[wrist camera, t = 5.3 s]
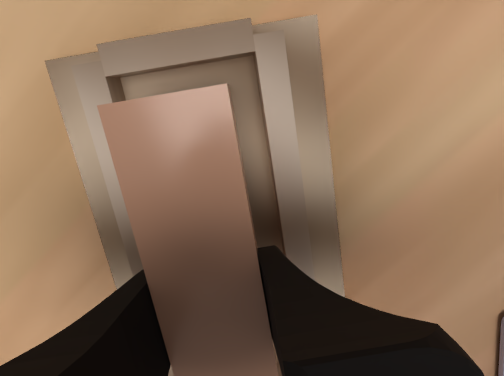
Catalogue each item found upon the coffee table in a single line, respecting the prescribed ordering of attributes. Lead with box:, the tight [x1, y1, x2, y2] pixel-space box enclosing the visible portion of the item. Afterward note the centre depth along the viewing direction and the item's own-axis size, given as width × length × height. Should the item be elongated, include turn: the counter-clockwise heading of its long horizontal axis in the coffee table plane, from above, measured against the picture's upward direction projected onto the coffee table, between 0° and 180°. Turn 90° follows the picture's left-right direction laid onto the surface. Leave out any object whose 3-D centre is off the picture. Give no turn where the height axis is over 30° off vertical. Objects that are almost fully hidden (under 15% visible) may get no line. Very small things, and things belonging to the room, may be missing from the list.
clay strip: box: [97, 83, 280, 376], centre depth 12 cm, size 12×3×5 cm, turn 9°
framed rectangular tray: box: [45, 15, 345, 376], centre depth 14 cm, size 16×10×2 cm, turn 9°
